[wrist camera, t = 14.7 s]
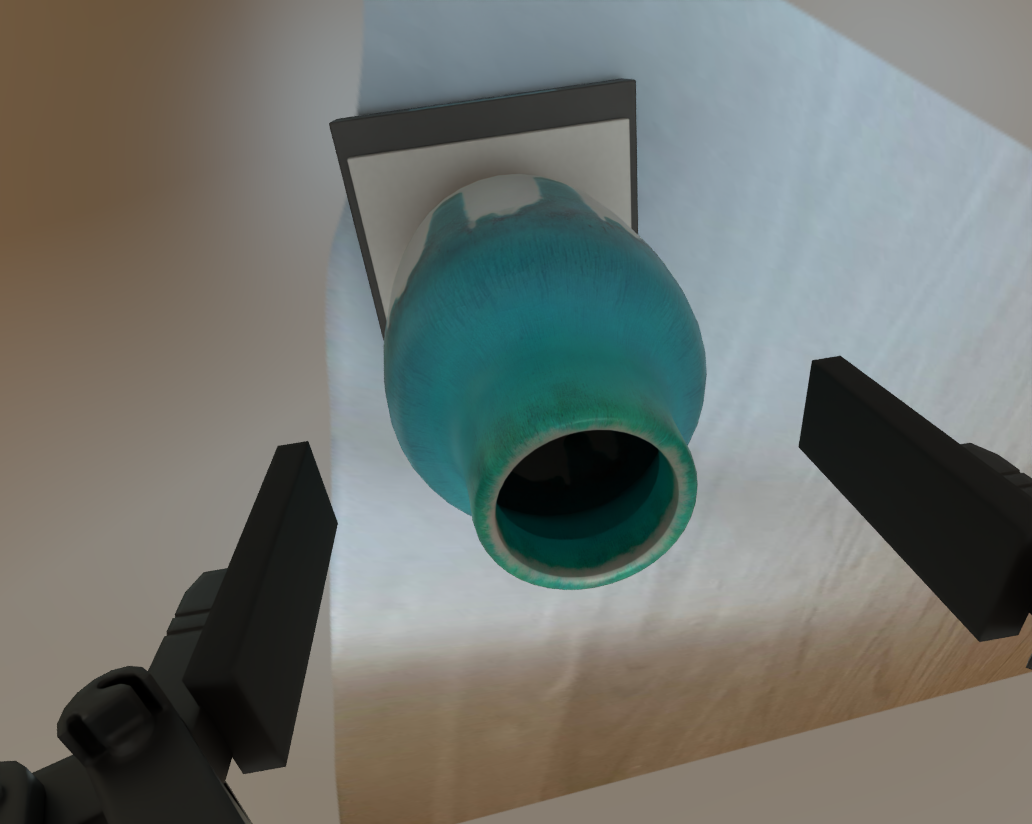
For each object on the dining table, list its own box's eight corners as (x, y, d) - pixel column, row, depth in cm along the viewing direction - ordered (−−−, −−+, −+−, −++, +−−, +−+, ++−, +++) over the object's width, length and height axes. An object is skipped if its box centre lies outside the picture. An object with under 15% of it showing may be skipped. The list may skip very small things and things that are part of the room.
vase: (627, 327, 33) (821, 595, 16) (444, 387, 33) (450, 705, 17) (582, 122, 27) (802, 210, 11) (364, 198, 28) (257, 391, 11)
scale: (335, 119, 29) (326, 123, 26) (623, 78, 29) (639, 79, 27) (403, 392, 36) (400, 415, 34) (629, 356, 37) (643, 376, 34)
